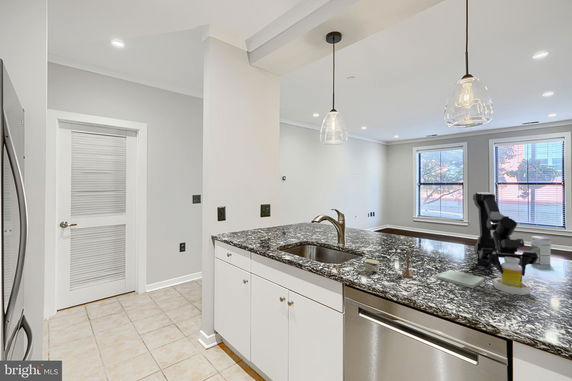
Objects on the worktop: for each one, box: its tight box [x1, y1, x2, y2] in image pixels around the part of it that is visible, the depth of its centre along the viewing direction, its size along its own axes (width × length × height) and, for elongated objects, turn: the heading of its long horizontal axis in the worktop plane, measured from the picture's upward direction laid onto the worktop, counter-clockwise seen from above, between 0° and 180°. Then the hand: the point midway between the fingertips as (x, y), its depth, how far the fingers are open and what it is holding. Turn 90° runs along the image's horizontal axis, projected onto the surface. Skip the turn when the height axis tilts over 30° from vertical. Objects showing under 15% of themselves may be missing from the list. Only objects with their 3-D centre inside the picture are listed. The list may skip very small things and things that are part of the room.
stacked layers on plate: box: [363, 258, 380, 273], centre depth 128 cm, size 10×9×6 cm
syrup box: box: [530, 235, 552, 266], centre depth 143 cm, size 6×6×14 cm
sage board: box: [436, 269, 485, 289], centre depth 118 cm, size 14×14×1 cm
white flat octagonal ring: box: [492, 277, 531, 296], centre depth 107 cm, size 11×11×2 cm
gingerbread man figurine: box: [402, 249, 414, 280], centre depth 123 cm, size 9×4×12 cm, turn 159°
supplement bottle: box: [500, 257, 523, 288], centre depth 107 cm, size 7×7×13 cm
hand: (512, 274), depth 106 cm, fingers closed on supplement bottle, 7 cm apart
